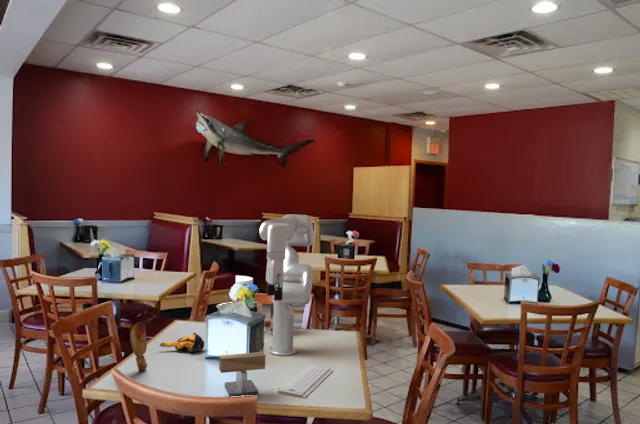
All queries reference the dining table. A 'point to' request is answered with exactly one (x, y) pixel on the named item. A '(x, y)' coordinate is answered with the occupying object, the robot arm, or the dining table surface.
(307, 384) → the baseboard molding
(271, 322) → the coffee box
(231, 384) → the ridge stand
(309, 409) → the dining table surface
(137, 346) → the crab claw
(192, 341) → the fried shrimp in bowl
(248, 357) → the tan long block
